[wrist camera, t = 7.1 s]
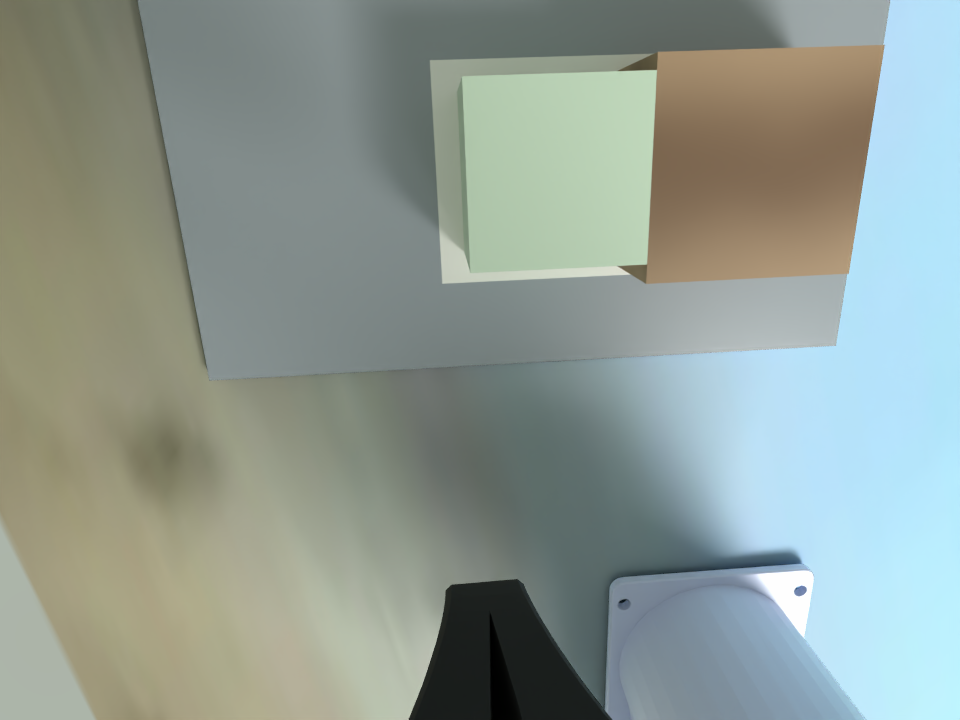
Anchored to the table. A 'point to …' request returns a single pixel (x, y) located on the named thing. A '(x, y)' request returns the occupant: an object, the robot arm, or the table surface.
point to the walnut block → (757, 161)
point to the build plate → (427, 182)
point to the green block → (556, 169)
